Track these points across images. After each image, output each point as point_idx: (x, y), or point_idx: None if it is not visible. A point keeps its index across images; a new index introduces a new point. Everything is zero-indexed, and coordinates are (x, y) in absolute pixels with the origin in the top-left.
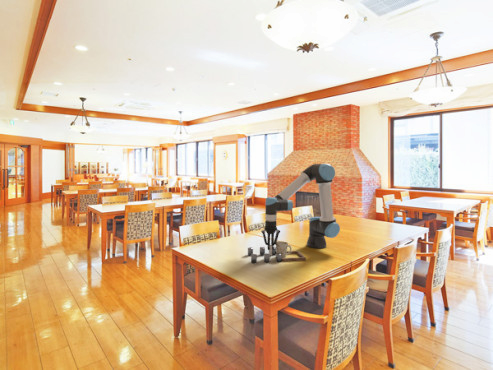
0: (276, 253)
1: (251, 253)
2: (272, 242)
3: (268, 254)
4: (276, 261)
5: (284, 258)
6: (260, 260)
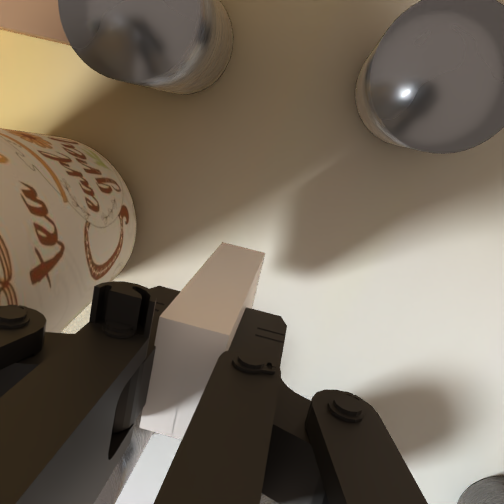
0: (170, 60)
1: None
2: (94, 375)
3: (412, 50)
4: (231, 30)
5: (51, 4)
6: (479, 212)
